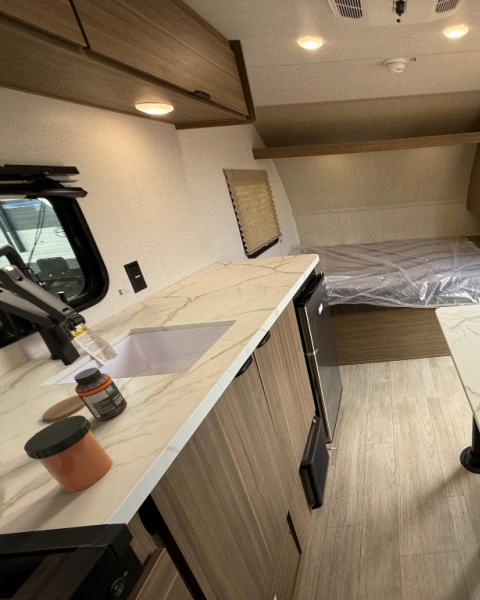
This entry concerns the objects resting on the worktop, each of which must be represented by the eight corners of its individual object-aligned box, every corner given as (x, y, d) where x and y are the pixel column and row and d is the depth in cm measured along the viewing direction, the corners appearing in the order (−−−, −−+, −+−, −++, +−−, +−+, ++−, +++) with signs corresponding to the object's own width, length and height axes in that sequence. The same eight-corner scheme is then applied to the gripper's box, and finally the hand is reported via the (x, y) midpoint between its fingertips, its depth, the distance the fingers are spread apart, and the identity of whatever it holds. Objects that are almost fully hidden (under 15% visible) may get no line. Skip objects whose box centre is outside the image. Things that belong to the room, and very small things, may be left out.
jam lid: (16, 460, 51) (9, 452, 50) (65, 423, 58) (59, 416, 57) (58, 459, 50) (52, 451, 49) (102, 421, 57) (97, 414, 56)
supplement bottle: (100, 409, 74) (74, 370, 70) (130, 399, 77) (107, 360, 72) (91, 426, 70) (62, 385, 65) (124, 414, 72) (98, 374, 67)
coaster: (34, 422, 73) (32, 419, 73) (69, 397, 80) (67, 395, 80) (65, 420, 72) (63, 417, 72) (97, 396, 80) (95, 393, 79)
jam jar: (53, 493, 55) (17, 452, 51) (90, 458, 61) (60, 419, 57) (88, 492, 54) (54, 450, 50) (121, 457, 60) (94, 418, 56)
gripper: (-259, 272, 35) (-108, 415, 44) (17, 229, 41) (101, 362, 50) (-173, 256, 42) (-57, 383, 51) (54, 221, 48) (123, 340, 57)
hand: (22, 373), depth 50 cm, fingers open, 13 cm apart
